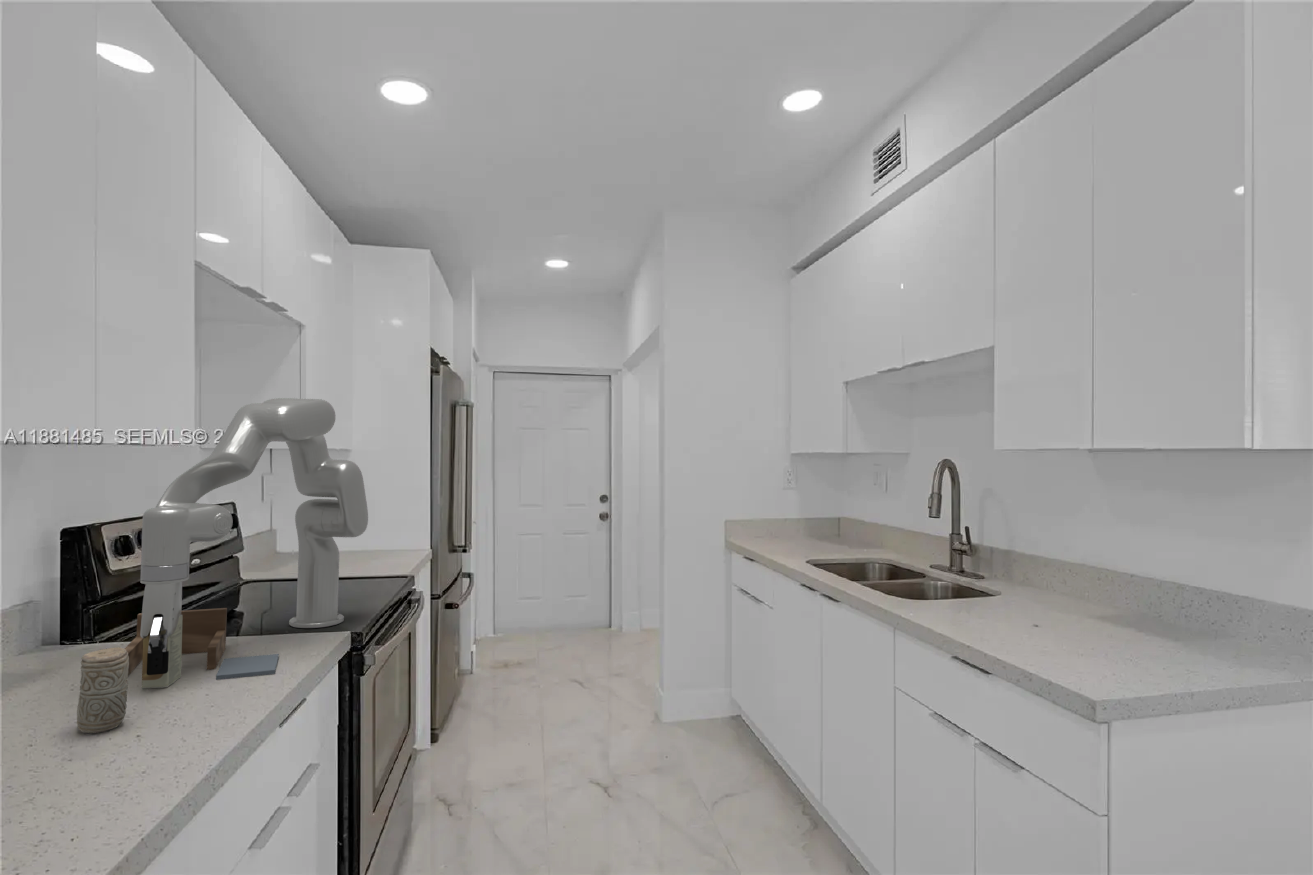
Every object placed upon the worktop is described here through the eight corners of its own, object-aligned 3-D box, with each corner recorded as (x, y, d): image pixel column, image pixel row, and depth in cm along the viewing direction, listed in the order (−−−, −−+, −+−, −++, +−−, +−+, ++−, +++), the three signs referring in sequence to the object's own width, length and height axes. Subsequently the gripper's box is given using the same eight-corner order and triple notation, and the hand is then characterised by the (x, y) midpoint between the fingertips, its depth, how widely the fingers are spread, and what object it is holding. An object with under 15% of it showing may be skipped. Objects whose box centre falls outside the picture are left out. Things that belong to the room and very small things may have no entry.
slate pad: (224, 662, 146) (224, 658, 146) (278, 657, 150) (278, 653, 150) (215, 679, 135) (216, 675, 135) (274, 674, 139) (275, 669, 139)
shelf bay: (137, 656, 149) (139, 613, 149) (225, 648, 156) (227, 607, 156) (117, 678, 135) (119, 631, 135) (215, 669, 141) (216, 624, 142)
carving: (80, 740, 106) (83, 660, 107) (71, 726, 112) (74, 650, 112) (131, 728, 111) (134, 652, 111) (121, 716, 116) (124, 643, 117)
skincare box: (156, 679, 135) (158, 614, 135) (181, 677, 136) (184, 613, 136) (139, 689, 129) (142, 621, 129) (166, 688, 129) (168, 620, 130)
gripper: (151, 566, 139) (148, 657, 139) (129, 582, 123) (125, 684, 123) (196, 564, 142) (193, 653, 142) (180, 580, 126) (176, 679, 126)
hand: (162, 667), depth 132 cm, fingers open, 7 cm apart
